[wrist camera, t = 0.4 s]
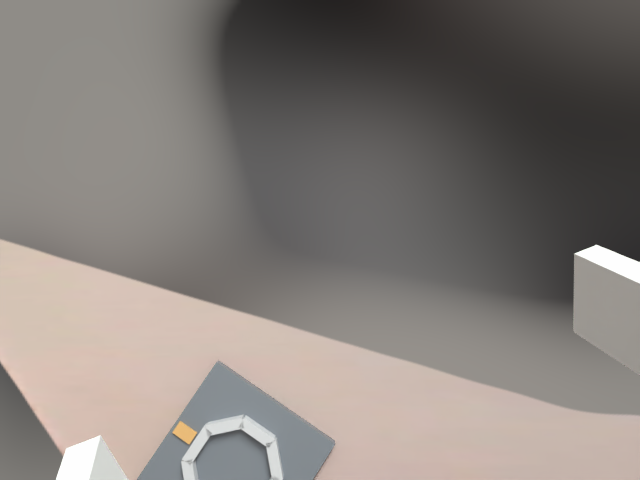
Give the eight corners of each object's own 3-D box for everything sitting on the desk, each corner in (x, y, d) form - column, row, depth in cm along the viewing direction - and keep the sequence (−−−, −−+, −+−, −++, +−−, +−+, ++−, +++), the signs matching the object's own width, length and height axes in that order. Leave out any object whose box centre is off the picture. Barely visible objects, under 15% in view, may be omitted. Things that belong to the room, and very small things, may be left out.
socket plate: (334, 440, 42) (335, 447, 40) (253, 569, 41) (250, 583, 39) (218, 360, 43) (214, 363, 41) (134, 484, 41) (125, 494, 39)
